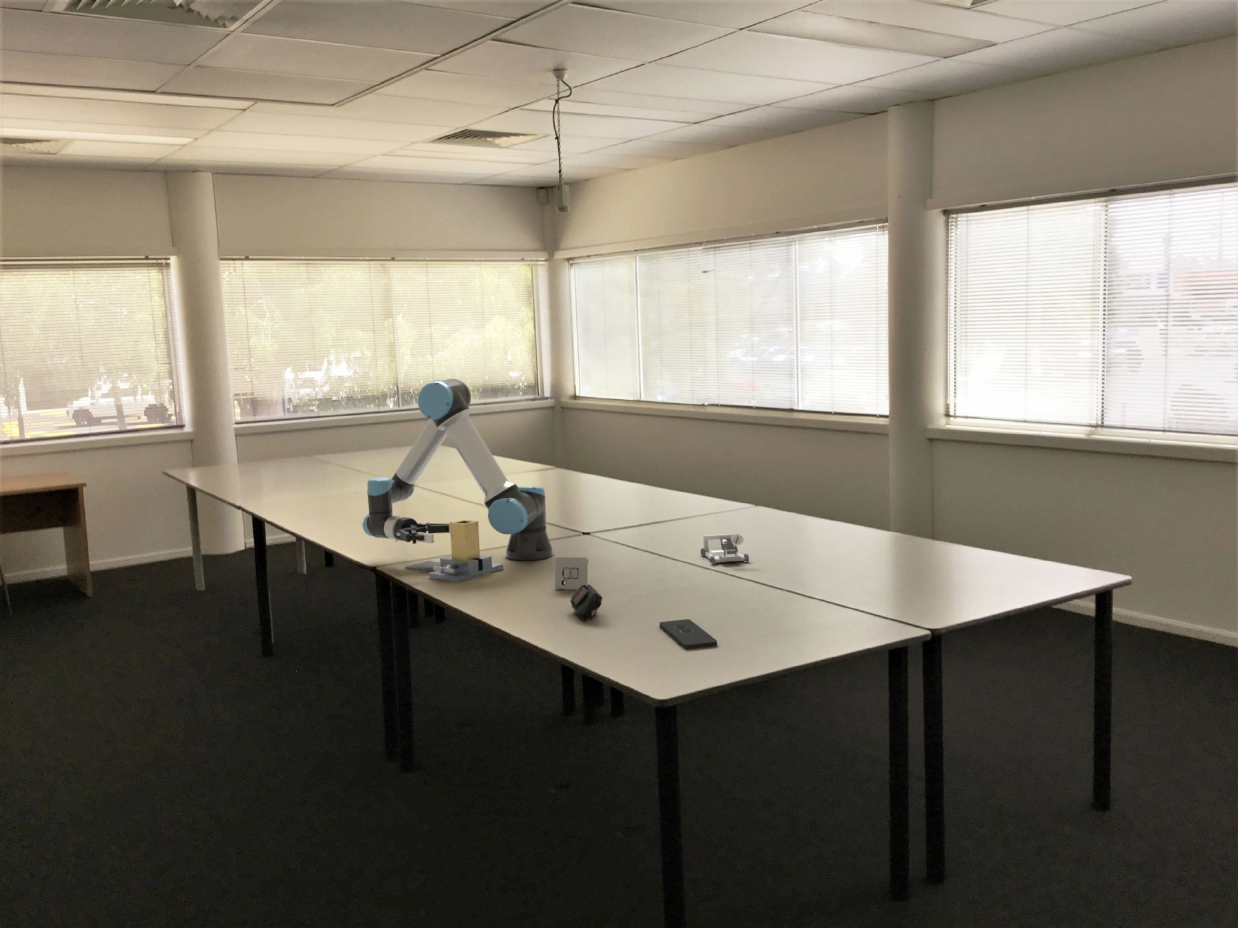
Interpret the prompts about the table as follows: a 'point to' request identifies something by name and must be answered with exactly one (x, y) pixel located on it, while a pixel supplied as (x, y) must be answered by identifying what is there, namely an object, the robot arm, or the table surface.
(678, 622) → the smart home device
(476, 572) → the vise
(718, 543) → the grey toy rover
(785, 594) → the table surface
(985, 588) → the table surface
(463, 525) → the brass sleeve
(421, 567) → the rubber mat
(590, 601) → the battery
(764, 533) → the table surface
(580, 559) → the electrical switch
